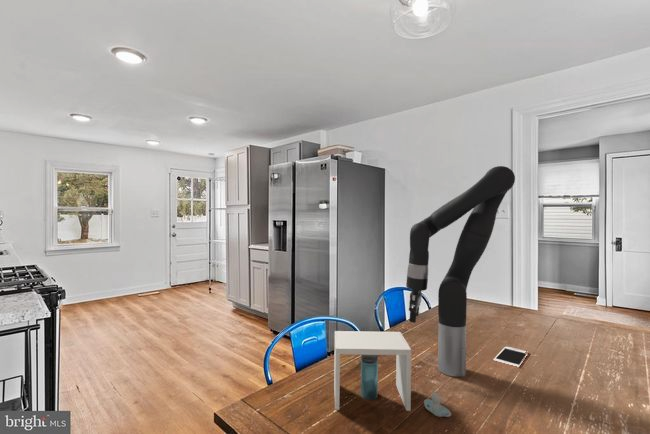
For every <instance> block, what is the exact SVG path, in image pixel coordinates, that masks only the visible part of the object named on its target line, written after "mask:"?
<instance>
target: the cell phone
mask: <svg viewBox="0 0 650 434" xmlns="http://www.w3.org/2000/svg"><path fill="white" fill-rule="evenodd" d="M525 352H526V350H522V349H519V348H514V347H511V346H504V348H502V349H501V351H500V352H499V353H498V354H497V355H496V356H495V357H494V358H493V360H494V361H493V360H492V361H493V362H495V361H497V362H496V363H498V362H501V363H500V364H502V363H505V364H509V365H513V366H517V367H519V366H520V365H521V363H522V362H523V361H522V359H523V358H524V357H526V356H527V354H526V353H525ZM523 363H524V362H523ZM505 364H504V365H505ZM509 365H508V366H509ZM521 366H522V365H521Z"/></svg>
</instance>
